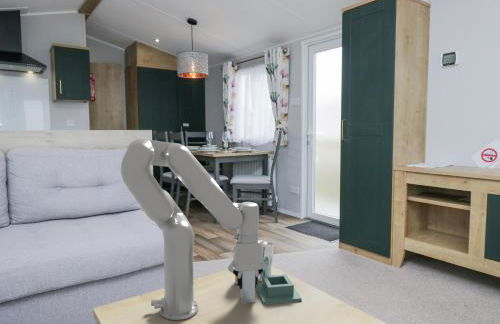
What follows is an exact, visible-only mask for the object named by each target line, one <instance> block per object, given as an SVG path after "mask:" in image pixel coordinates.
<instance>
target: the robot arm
mask: <svg viewBox="0 0 500 324" xmlns="http://www.w3.org/2000/svg"><path fill="white" fill-rule="evenodd" d="M151 166H158V167H168V169H170V170H171V172H172V173H173V174H174V175H175V176H176V177H177V178H178V180H179V181H180V182H181V183H182V184H183V185H184V187H185V188H186V189H187V190H188V192H190V193H191V195H192V196H193V197H194V198H195V199H196V200H197V201H199V202H200V203H201V204H202V206H204V208H206V210H208V211H209V213H210V214H211V215H212V217H214V218H215V219H216V221H217V222H218V223H219V224H220V225H221V226H222V228H224V229H225V230H227V231H236V230H237V232H236V234H234V235H232V238H233V240H234V239H235V243H234V249H233V255H232V256H233V258H232V259H233V260H232V261H231V262H230V264H229V265H228V266H227V270H228V271H229V272H230V273H231V274H233V275H234V276H235V275H236V276H237V283H236V285H237V286H238V287H239V290H240V289H242V277H241V275H242V271H254V270H255V289H256V284H259V281H258V277H259V275H260V274H261V273H262V272H263V270H265V269H266V268H267V267H268V266H267V264H266V263H265V262H264V261H263V254H262V245H261V241H262V240H260V239H259V236H260V235H259V233H260V229H259V227H260V226H259V225H260V224H259V223H260V206H259V205H258V203H255V202H252V201H244V202H233V201H232V200H231V199H230V197H229V196H228V195H227V194H226V193H225V192H224V191H223V189H222V188H221V187H220V185H219V184H218V183H217V181H216V180H215V179H214V178H213V177H212V175H210V173H209V172H208V171H207V170H206V169H205V167H204V166H203V165H202V164H201V163H200V162H199V160H197V158H196V157H195V156H194V154H193V153H192V152H191V151H190V150H189V149H188V148H187V147H186V146H185V145H183V144H181V143H178V142H177V143H176V142H168V141H159V140H153V139H145V138H137V139H134V140H133V141H131V142H130V143H129V144H128V147H127V148H126V151H125V153H124V156H123V158H122V161H121V165H120V173H121V177H122V178H121V179H122V180H123V183H124V184H125V186H126V187H127V190H128V191H129V192H130V193H131V195H132V196H133V198H134V199H135V200H136V202H137V203H138V205H139V206H140V207H141V209H142V210H143V212H144V213H145V215H146V216H147V218H148V219H149V220H151V221H153V222H155V224H156V225H157V227H158V228H159V229H160V230H161V233H162V236H163V268H164V269H163V270H164V272H163V273H164V279H163V280H164V295H163V297H162V298H160V299H151V300H150V303H151V305H150V306H151V307H154V308H153V309H154V310H155V309H156V310H157V309H160V310H159V311H160V312H159V313H160V316H161V317H163V318H164V319H167V320H170V321H181V320H186V319H190V318H191V317H193V316H195V315H196V314H197V313H198V311H199V304H198V302H197V301H195V299H194V296H195V294H194V292H195V291H194V247H195V246H194V245H195V233H194V229H193V226H192V225H191V223H190V221H189V220H188V219H187V216H186V215H185V214H184V213H183V211H182V210H181V208H180V207H179V206H178V204H177V203H176V201H175V200H174V199H173V197H172V196H171V194H170V193H169V192H168V191H167V190H164V189H163V188H162V187H161V185H160V183H158V181H157V179H156V178H155V177H154V175H153V173H152V171H151Z"/></svg>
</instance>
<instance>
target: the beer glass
mask: <svg viewBox="0 0 500 324" xmlns="http://www.w3.org/2000/svg"><path fill="white" fill-rule="evenodd" d="M260 241H261V245H262V254H263V261H264V262H265V263H266V264H267V266H268V267H267V268H266V269H265V270H263V272H262V273H261V274H260V275H259V277H258V282H261V283H262V276H271V275H272V267H273V266H272V265H273V260H274V243H273V242H272V241H269V240H260Z"/></svg>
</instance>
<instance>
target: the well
mask: <svg viewBox="0 0 500 324" xmlns="http://www.w3.org/2000/svg"><path fill="white" fill-rule="evenodd" d="M255 290H256V292H257V293H258V295H259V297H260V300H261V302H262V304H263V305H271V304H272V305H273V304H283V303H293V302H295V303H296V302H301V301H302V299H303V298H302V297H301V295H300V294H299V293H298V291H297V289H296V288H295V285H294V283H293V282H292V281H291V279H290V277H289V276H288V274H287V273H285V274H273V275H272V274H271V276H262V282H261V283H258V284H256V288H255Z"/></svg>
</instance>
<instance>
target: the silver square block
mask: <svg viewBox="0 0 500 324" xmlns="http://www.w3.org/2000/svg"><path fill="white" fill-rule="evenodd" d="M241 277H242V289H240V288H239V292H240V293H239V295H240V296H239V298H240V301H241V304H243V305H244V304H245V305H246V304H254V303H256V288H255V270H254V271H242V275H241Z"/></svg>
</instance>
